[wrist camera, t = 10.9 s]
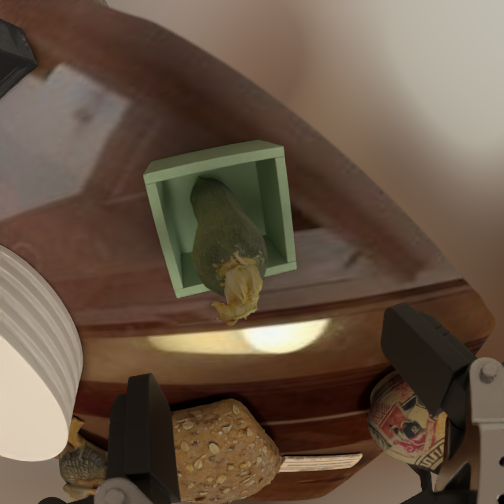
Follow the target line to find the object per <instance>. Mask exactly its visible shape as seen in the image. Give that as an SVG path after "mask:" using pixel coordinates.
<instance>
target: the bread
mask: <svg viewBox="0 0 504 504" xmlns="http://www.w3.org/2000/svg"><path fill="white" fill-rule="evenodd" d="M171 415H172V423H173V435H174V446H175V456H176V465H177V474H178V482H179V490H180V497H181V501H187V502H188V503H197V504H221V503H225V502H226V503H230V502H231V501H233V500H238V499H243V498H246V497H249V496H250V495H252V494H254V493H258V491H259V490H260V489H261V488H263V487H264V486H265V485H268V484H270V481H271V480H273V478H274V477H275V475H276V473H279V471H280V468H279V467H280V466H281V464H282V462H281V461H282V460H281V455H279V448H277V447H276V445H275V443H274V442H273V440H272V439H271V438H270V437H269V436H268V435H267V434H266V433H265V430H263V429H262V427H261V426H260V425H259V423H258V422H257V421H256V420H255V418H254V417H253V416H252V414H251V413H250V412H249V410H248V409H247V408H246V407H245V406H244V405H243V403H242V402H240V401H237V400H235V399H232V398H231V399H225V400H221V401H218V402H214V403H211V404H208V405H202V406H197V407H194V408H188V409H183V410H179V411H174V412H171Z"/></svg>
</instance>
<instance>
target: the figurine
mask: <svg viewBox="0 0 504 504" xmlns="http://www.w3.org/2000/svg"><path fill="white" fill-rule="evenodd" d="M83 424H84V422H83V421H80V420H79V419H77V418H76V417H72V419H71V424H70V428H69V435H68V441H67V444H66V446H65V448H64V449H63V451H62V452H61V453H60V454H58V456H59V457H60V460H59V466H60V474H61V476H62V478H63V479H64V480H65V482H66V483H67V484H65V485H64V487H63V490H64V491H65V492H66V493H67V494H68V495H69V496H70V497H71V498H72V500H73V501H78V500H81V499H84V498H87V497H90V496H92V495H94V494H95V491H96V489H97V488H98V486H99V485H100V484H101V483H103V482H104V481H105V480H106V475H107V456H108V451H105V450H103V449H101V448H99V447H98V446H96V445H94V444H92V443H90V442H88V441H87V440H85V439H84V438H83V437H82V436H81V435H80V434H79V433H78V431H79V429H80V428H81V426H82V425H83Z"/></svg>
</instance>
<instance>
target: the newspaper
mask: <svg viewBox="0 0 504 504" xmlns="http://www.w3.org/2000/svg"><path fill="white" fill-rule="evenodd" d="M361 457H362V454H350V455H333V456H283V457H281V460H282V461H281V462H282V464H281V466H280V467H279V468H280V471H279V472H291V471H315V470H329V469H340V468H349V467H352V466H353V465H355V464H356V463H357V462H358V461H359V460H360V459H361Z"/></svg>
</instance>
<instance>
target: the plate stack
mask: <svg viewBox="0 0 504 504" xmlns="http://www.w3.org/2000/svg"><path fill="white" fill-rule="evenodd" d="M82 367H83V353H82V346H81V342H80V338H79V335H78V332H77V329H76V327H75V324H74V322H73V320H72V318H71V316H70V314H69V312H68V310H67V309H66V307H65V305H64V304H63V302H62V301H61V299H60V298H59V296H58V295H57V294H56V292H55V291H54V290H53V289H52V287H51V286H50V285H49V284H48V283H47V281H46V280H45V279H44V278H43V277H42V276H41V275H40V274H39V273H38V272H37V271H36V270H35V269H34V268H33V267H32V266H31V265H29V264H28V263H27V262H26V261H25V260H23V259H22V258H21V257H19V256H18V255H17V254H15V253H14V252H12V251H11V250H9V249H7V248H6V247H4V246H2V245H0V455H1V456H3V457H7V458H11V459H15V460H22V461H42V460H47V459H50V458H53V457H55V456H57V455H58V454H60V453H61V452H62V451H63V449H64V448H65V446H66V444H67V441H68V435H69V428H70V424H71V419H72V413H73V408H74V403H75V398H76V394H77V390H78V385H79V380H80V377H81V372H82Z"/></svg>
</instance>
